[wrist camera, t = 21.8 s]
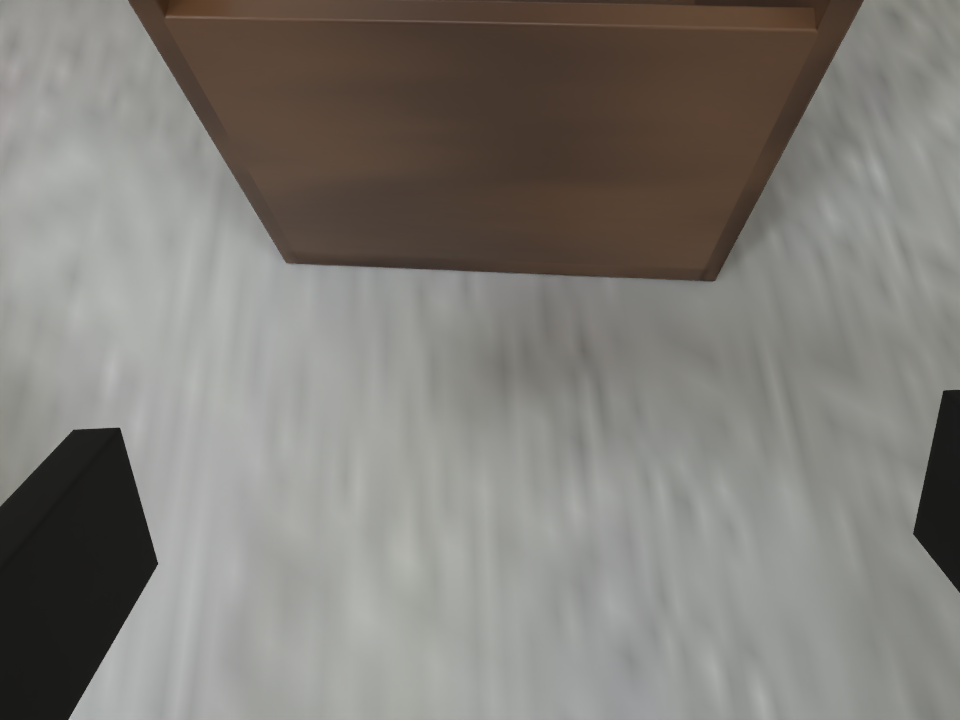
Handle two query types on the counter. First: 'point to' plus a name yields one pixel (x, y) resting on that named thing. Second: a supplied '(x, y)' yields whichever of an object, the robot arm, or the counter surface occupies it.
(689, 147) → the brown wooden open box
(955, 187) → the counter surface
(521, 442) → the counter surface
